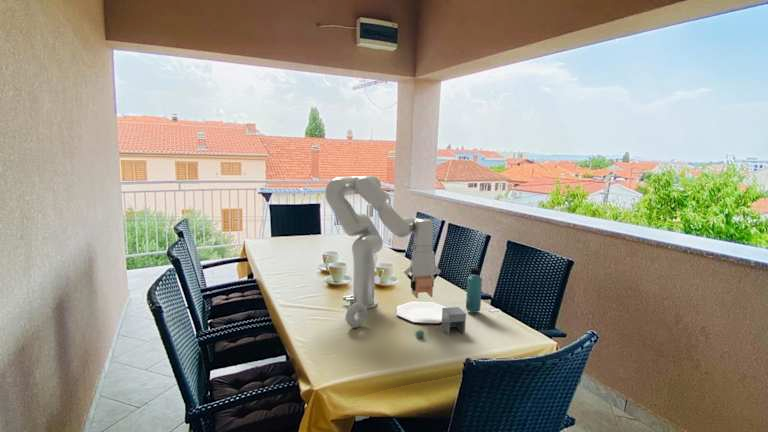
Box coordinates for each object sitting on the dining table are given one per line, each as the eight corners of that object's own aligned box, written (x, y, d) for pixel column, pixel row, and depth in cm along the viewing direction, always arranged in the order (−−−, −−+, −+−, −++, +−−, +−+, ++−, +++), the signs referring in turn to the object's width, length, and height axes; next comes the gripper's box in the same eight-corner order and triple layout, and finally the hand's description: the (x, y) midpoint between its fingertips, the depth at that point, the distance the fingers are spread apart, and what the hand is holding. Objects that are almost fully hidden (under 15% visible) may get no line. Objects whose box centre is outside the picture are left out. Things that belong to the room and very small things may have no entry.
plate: (396, 303, 186) (396, 300, 185) (447, 305, 185) (448, 302, 185) (396, 324, 162) (396, 321, 162) (455, 327, 162) (455, 323, 161)
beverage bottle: (481, 310, 179) (483, 267, 176) (479, 316, 172) (482, 271, 170) (466, 308, 181) (468, 265, 178) (464, 314, 174) (466, 269, 172)
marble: (417, 339, 149) (417, 331, 148) (414, 336, 151) (415, 328, 151) (424, 338, 149) (425, 331, 149) (422, 335, 152) (422, 327, 152)
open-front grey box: (447, 334, 153) (449, 314, 152) (441, 327, 160) (442, 308, 159) (464, 333, 155) (466, 313, 154) (457, 325, 162) (458, 307, 161)
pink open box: (416, 298, 167) (417, 279, 165) (411, 292, 173) (412, 274, 172) (432, 297, 168) (433, 278, 167) (427, 291, 175) (427, 273, 174)
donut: (348, 332, 153) (349, 307, 152) (343, 329, 156) (343, 304, 154) (369, 325, 160) (369, 301, 159) (363, 322, 162) (364, 299, 161)
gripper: (405, 251, 162) (404, 293, 165) (445, 249, 166) (444, 290, 169) (400, 247, 170) (400, 287, 172) (439, 245, 173) (438, 285, 176)
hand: (422, 288), depth 170 cm, fingers closed on pink open box, 7 cm apart
